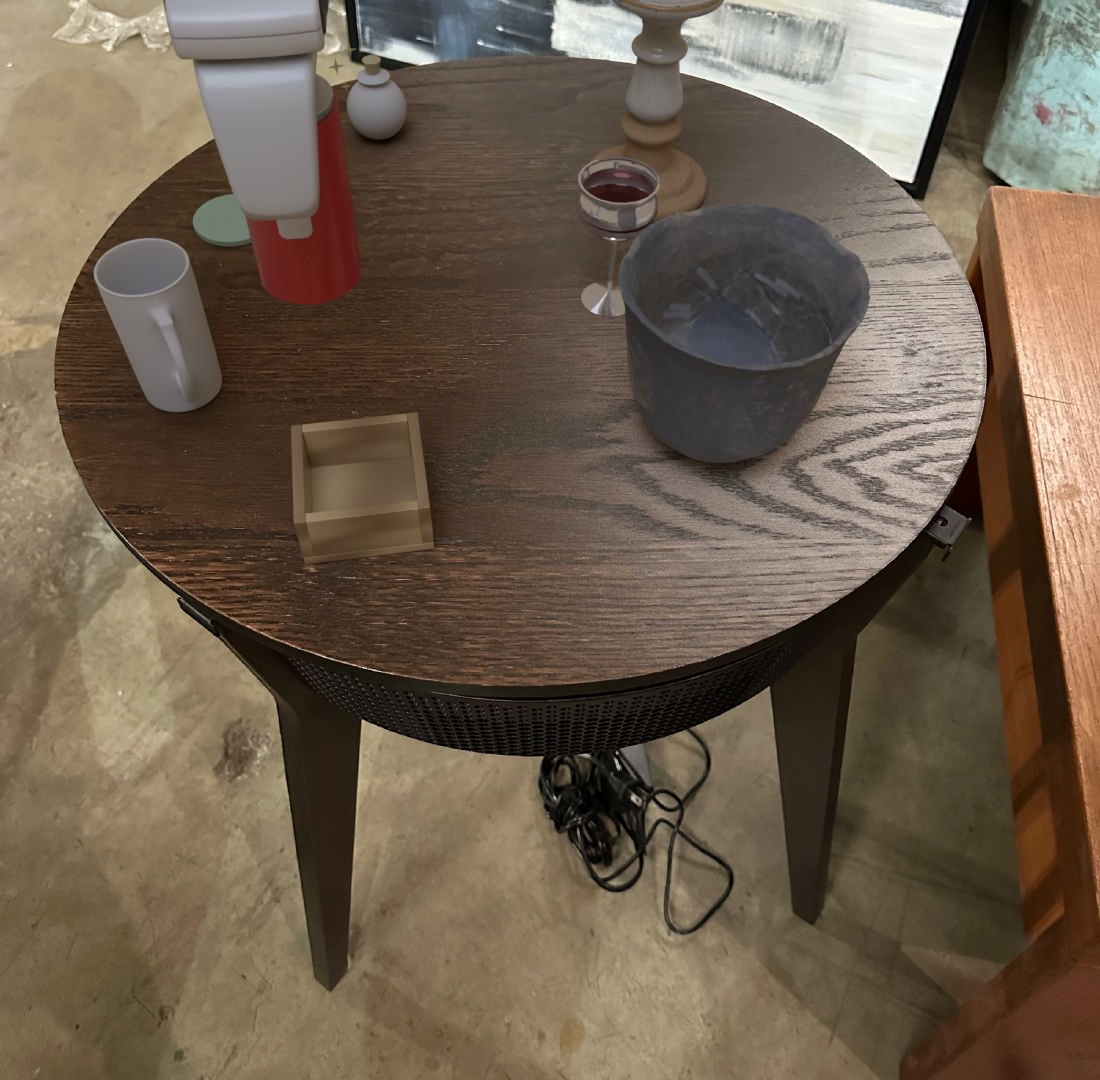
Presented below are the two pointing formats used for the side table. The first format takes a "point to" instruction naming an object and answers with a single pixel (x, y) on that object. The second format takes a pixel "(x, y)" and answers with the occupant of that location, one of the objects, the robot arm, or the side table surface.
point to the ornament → (375, 101)
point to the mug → (160, 322)
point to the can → (315, 226)
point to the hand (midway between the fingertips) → (295, 191)
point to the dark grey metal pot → (736, 325)
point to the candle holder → (661, 102)
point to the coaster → (222, 222)
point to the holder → (360, 488)
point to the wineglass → (615, 217)
